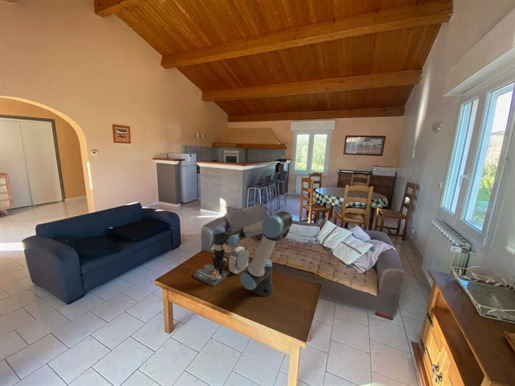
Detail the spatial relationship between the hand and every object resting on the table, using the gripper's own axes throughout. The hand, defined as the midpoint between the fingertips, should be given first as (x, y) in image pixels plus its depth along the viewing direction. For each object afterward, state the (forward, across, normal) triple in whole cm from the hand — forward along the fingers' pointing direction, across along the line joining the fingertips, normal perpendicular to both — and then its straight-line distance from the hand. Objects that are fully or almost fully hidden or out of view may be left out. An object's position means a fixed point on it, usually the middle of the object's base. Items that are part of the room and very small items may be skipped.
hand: (219, 278), depth 160 cm
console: (+4, +11, -4) cm, 12 cm away
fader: (+2, +4, 0) cm, 4 cm away
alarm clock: (+4, -2, -22) cm, 23 cm away
